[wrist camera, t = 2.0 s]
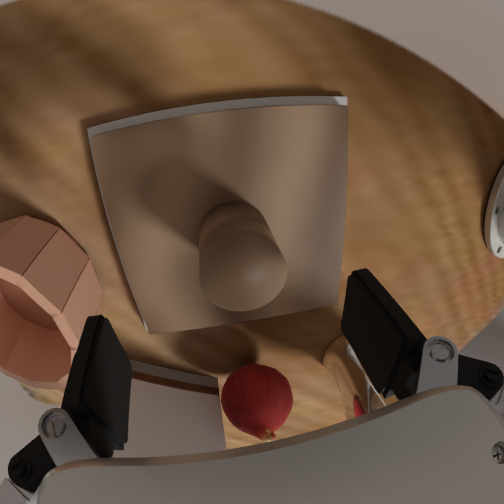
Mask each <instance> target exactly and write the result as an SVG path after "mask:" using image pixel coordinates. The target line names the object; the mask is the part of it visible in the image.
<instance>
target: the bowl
mask: <svg viewBox="0 0 504 504" xmlns="http://www.w3.org/2000/svg"><path fill="white" fill-rule="evenodd" d="M103 294H104V293H103V290H102V288H101V285H100V283H99V280H98V277H97V273H96V271H95V269H94V267H93V264H92V263H91V260H90V259H89V257H88V256H87V255H86V253H85V252H84V250H83V249H82V248H81V247H80V246H79V244H78V243H77V242H76V241H75V240H74V239H73V238H72V237H71V236H69V235H68V234H67V233H66V232H64V231H63V230H62V229H61V228H59V227H57V226H55V225H53V224H51V223H49V222H47V221H44V220H41V219H37V218H32V217H29V216H27V215H26V216H25V215H24V216H20V217H17V218H14V219H10V220H7V221H4V222H1V223H0V371H1V372H2V373H4V374H5V375H7V376H10V377H12V378H14V379H16V380H18V381H20V382H23V383H25V384H27V385H30V386H32V387H35V388H46V389H65V388H66V384H67V380H68V376H69V372H70V368H71V364H72V361H73V357H74V355H75V353H76V352H77V348H78V345H79V341H80V338H81V335H82V332H83V328H84V325H85V322H86V319H87V317H88V316H95V315H100V311H101V305H102V299H103Z"/></svg>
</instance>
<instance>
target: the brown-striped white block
mask: <svg viewBox="0 0 504 504" xmlns="http://www.w3.org/2000/svg"><path fill="white" fill-rule="evenodd" d="M129 360H130V362H131V365H132V381H131V393H130V407H129V425H128V441H127V443H124V450H114V453H113V457H114V458H133V457H159V456H175V455H187V454H197V453H206V452H214V451H221V450H226V443H225V436H224V428H223V420H222V412H221V404H220V395H219V387H218V378H214V377H208V376H203V375H197V374H192V373H187V372H182V371H178V370H173V369H168V368H164V367H160V366H155V365H151V364H147V363H143V362H139V361H135V360H132V359H129Z"/></svg>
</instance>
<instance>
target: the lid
mask: <svg viewBox="0 0 504 504" xmlns="http://www.w3.org/2000/svg"><path fill="white" fill-rule="evenodd" d="M90 139H91V145H92V150H93V155H94V160H95V164H96V169H97V173H98V177H99V182H100V186H101V190H102V194H103V198H104V202H105V205H106V209H107V213H108V216H109V220H110V224H111V227H112V230H113V234H114V237H115V240H116V244H117V247H118V250H119V253H120V256H121V259H122V262H123V265H124V268H125V271H126V274H127V277H128V280H129V282H130V285H131V288H132V291H133V293H134V296H135V299H136V301H137V304H138V306H139V309H140V312H141V314H142V317H143V319H144V322H145V324H146V326H147V329H148V331H149V334H158V333H167V332H175V331H184V330H191V329H199V328H206V327H213V326H220V325H227V324H233V323H240V322H246V321H252V320H258V319H264V318H270V317H275V316H281V315H286V314H291V313H297V312H302V311H307V310H312V309H317V308H322V307H327V306H331V305H336V304H337V301H338V293H339V284H340V275H341V265H342V255H343V243H344V230H345V214H346V195H347V166H348V110H347V106H346V105H334V104H308V105H278V106H261V107H248V108H237V109H228V110H219V111H211V112H204V113H197V114H190V115H184V116H178V117H172V118H166V119H161V120H156V121H151V122H146V123H141V124H137V125H132V126H128V127H124V128H119V129H115V130H112V131H108V132H104V133H100V134H96V135H94V136H92V137H90Z"/></svg>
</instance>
